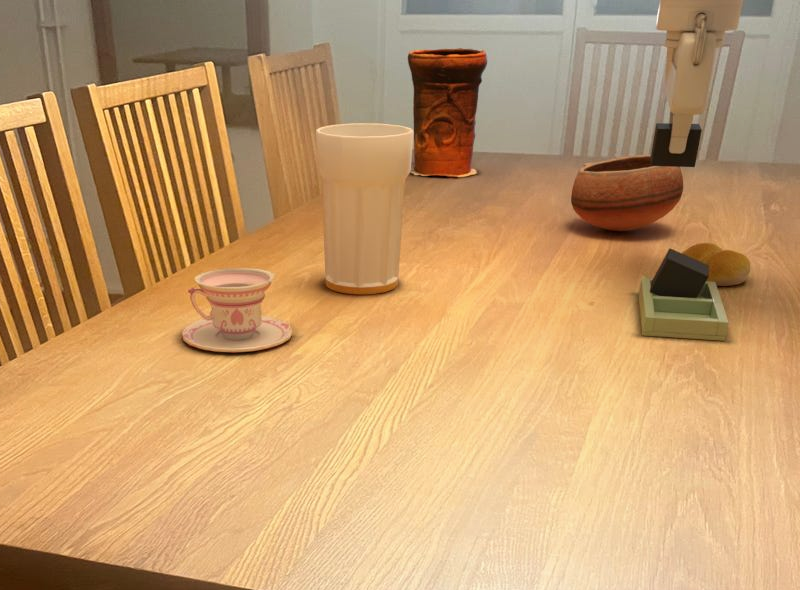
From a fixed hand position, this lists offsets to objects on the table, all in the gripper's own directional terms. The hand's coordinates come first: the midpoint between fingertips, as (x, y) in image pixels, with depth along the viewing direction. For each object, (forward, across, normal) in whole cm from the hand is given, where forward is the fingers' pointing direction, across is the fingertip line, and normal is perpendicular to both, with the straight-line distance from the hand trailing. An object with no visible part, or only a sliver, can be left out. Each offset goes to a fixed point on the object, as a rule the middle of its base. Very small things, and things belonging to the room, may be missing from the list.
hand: (675, 148), depth 116 cm
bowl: (+15, +25, +4) cm, 29 cm away
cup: (+14, -14, +36) cm, 41 cm away
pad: (+13, -15, -1) cm, 20 cm away
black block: (+2, 0, 0) cm, 2 cm away
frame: (+15, -18, -2) cm, 24 cm away
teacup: (+14, -37, +44) cm, 60 cm away
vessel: (+14, +66, +38) cm, 78 cm away
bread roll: (+15, -1, -7) cm, 16 cm away
